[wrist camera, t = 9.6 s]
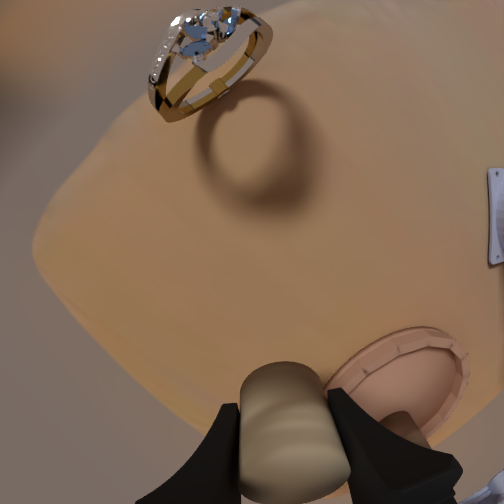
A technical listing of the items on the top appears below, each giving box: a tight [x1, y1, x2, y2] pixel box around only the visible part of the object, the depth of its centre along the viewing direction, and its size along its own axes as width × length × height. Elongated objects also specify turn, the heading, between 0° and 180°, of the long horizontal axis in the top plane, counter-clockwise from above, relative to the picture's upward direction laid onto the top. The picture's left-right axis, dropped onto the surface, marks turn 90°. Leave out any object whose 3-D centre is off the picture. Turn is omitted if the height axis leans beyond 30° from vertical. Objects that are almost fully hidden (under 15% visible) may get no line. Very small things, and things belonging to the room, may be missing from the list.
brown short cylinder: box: [379, 411, 432, 450], centre depth 18 cm, size 4×4×6 cm
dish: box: [323, 326, 470, 439], centre depth 20 cm, size 15×15×2 cm
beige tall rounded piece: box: [238, 361, 351, 504], centre depth 10 cm, size 4×4×6 cm
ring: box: [148, 5, 273, 123], centre depth 12 cm, size 7×3×8 cm, turn 128°
